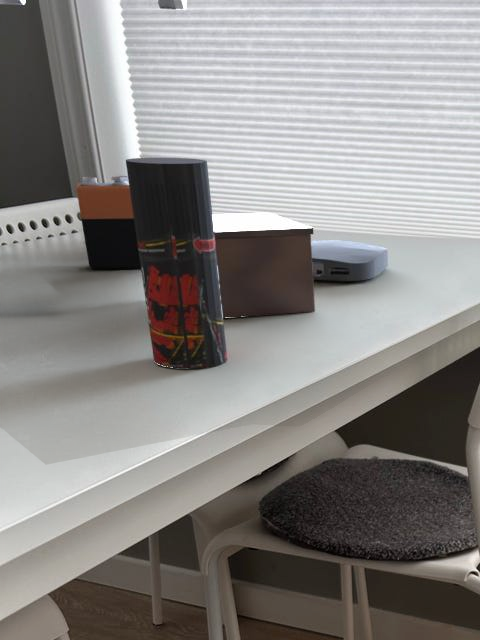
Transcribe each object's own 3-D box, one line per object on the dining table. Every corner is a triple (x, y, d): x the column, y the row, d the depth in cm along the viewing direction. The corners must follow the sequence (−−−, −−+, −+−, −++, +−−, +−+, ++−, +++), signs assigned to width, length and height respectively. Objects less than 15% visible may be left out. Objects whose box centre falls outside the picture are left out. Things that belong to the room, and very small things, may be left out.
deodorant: (142, 357, 80) (112, 158, 72) (207, 348, 83) (186, 157, 76) (172, 373, 76) (145, 164, 68) (240, 362, 79) (220, 162, 72)
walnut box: (198, 321, 92) (188, 232, 88) (163, 298, 101) (152, 216, 97) (317, 311, 97) (313, 227, 93) (274, 290, 107) (268, 212, 102)
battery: (149, 268, 115) (136, 178, 110) (90, 270, 113) (74, 178, 108) (146, 263, 119) (134, 174, 114) (89, 264, 117) (73, 174, 112)
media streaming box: (393, 265, 123) (392, 240, 122) (371, 285, 111) (370, 258, 109) (283, 259, 124) (281, 235, 123) (249, 279, 112) (246, 252, 110)
